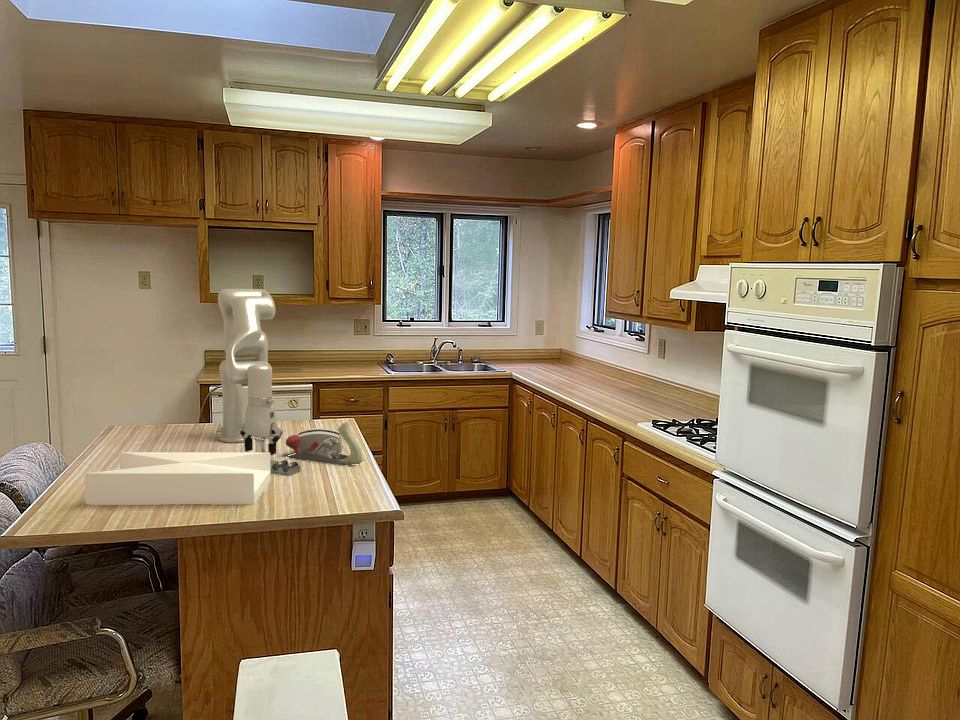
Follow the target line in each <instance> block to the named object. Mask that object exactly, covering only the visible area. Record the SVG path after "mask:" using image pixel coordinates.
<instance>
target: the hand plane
mask: <svg viewBox="0 0 960 720" xmlns="http://www.w3.org/2000/svg"><path fill="white" fill-rule="evenodd" d="M337 431H338V432H339V433H340V437H341V438H342V439H343V440H344V441H345V443H346V444H347V446H348V448H349V450H350V454H349V455H346V454H343V453H341V452H338V451H336V450H334V449H332V447H333V446H334V445H336V444H337V443H339V441H338V439H337V438H333V437H332V438H330V439H327V440H325V441H323V442H322V443H321V444H319V442H318V441H317V440H316V441H315V442H314V443H313V444H312V445H311V446H310V447H309V448H308V449H307V450H304V451H301V449H300V447H299V445H300V437H299V436H298V434H291V435H289V436H288V437H287V438H286V439H285V446H286V447H289V448H290V449H291V450H293V451H294V452H292V453H288V454H286V455H285V456H284V457H286V456H287V457H289V458H288V459H290V458H295V459H294V460H298V459H301V460H300V461H305V460H309V461H308V462H313V461H315V463H321V462H322V463H323V464H328V463H330V464H331V465H336V464H338V466H344V465H348V466H347V467H351V466H356V465H352V464H360V463H361V462H362V461H365V460H364V459H363V452H362V449H361V446H360V443H359V442H358V441H357V439H356V438H355V436H354V434H353V433H352V431H351V429H350V425H349V420H348V421H345V422H343V423H342V424H341V425H339V427H338V429H337ZM294 453H296V454H294ZM290 454H294V455H291V456H288V455H290ZM359 466H360V465H359ZM360 467H361V466H360Z"/></svg>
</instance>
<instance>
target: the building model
mask: <svg viewBox="0 0 960 720" xmlns="http://www.w3.org/2000/svg"><path fill="white" fill-rule="evenodd" d="M118 456H119V469H113V470H104V471H97V472H96V471H94V472H85V473H83V475H84V490H85V491H84V492H85V493H84V494H85V495H84V496H85V497H84V498H85V505H86V504H89V505H88V506H136V505H137V506H148V505H149V506H160V505H161V504H163V506H165V505H166V504H176V506H177V505H179V504H211V505H255V504H256V502H257V501H258V499H259V498H260V497H259V496H261V495H262V494H263V493H264V491H265V490H266V488H267V487H266V486H268V485H269V484H270V483H271V481H270V480H271V476H272V475H271V473H272V472H271V471H270V460H271V455H270V453H268V452H265V453H256V452H233V451H231V452H222V451H220V452H218V451H216V452H205V451H204V452H203V451H202V452H201V451H200V452H199V451H197V452H194V451H193V452H192V451H190V452H187V451H186V452H183V451H182V452H180V451H179V452H178V451H177V452H176V451H175V452H172V451H171V452H170V451H169V452H166V451H165V452H164V451H163V452H162V451H159V452H158V451H153V452H152V451H148V452H147V451H139V452H138V451H137V452H136V451H120V452H119V455H118ZM268 483H269V484H268ZM261 493H262V494H261ZM90 504H91V505H90ZM161 506H162V505H161Z"/></svg>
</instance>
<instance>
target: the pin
mask: <svg viewBox="0 0 960 720" xmlns="http://www.w3.org/2000/svg"><path fill="white" fill-rule="evenodd" d="M253 440H255V453H266V440H268V439H267V437H258V436H253Z"/></svg>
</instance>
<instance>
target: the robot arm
mask: <svg viewBox="0 0 960 720" xmlns="http://www.w3.org/2000/svg"><path fill="white" fill-rule="evenodd" d="M217 301H218V302H217V304H218V306H219V307H218V308H219V310H220V311H221V315H222V318H223V348H224V349H223V350H224V352H225V359H224V360H222V362H221V363H220V364H219V369H218V371H219V376H220V382H221V391H222V392H221V394H222V426H221V425H220V426H218V427H217V429H216V430H215V431H216V433H220V435H219V436H218V441H220V442H223V443H231V444H232V443H235V444H236V443H244V453H249V452H250V451H252V450H253V448H254V447H253V445H254V444H253V443H254V442H253V440H254V436H258V437H267V439H266V440H268V442H269V443H268V444H267V445H268V446H267V449H268V452H267V453H270V456H274V455H276V454H277V443H278V441H280V439H281V438H282V435H283V430H282V428H280V427H278V424H277V422H278V421H277V414H276V409H275V406H274V403H275V401H274V400H273V397H272V396H273V395H272V394H273V391H272V388H273V387H272V386H273V383H272V382H273V381H272V379H273V378H272V376H273V368H272V366H271V364H270V363H269V362H268V360H269V356H268V355H269V344H268V343H269V341H268V337H267V335H266V332H264V331H263V330H262V327H261V321H260V320H265V321H266V320H273V319H274V317H275V315H276V304H275V301H274V299H273V297H272V296H271V294H270V293H269V292H268V291H267V290H265V289H263V288H224V289H222V290H220V291H219V292H218V295H217ZM236 356H254V357H236ZM243 385H247V389H246V388H245V387H244V386H243Z"/></svg>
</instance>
